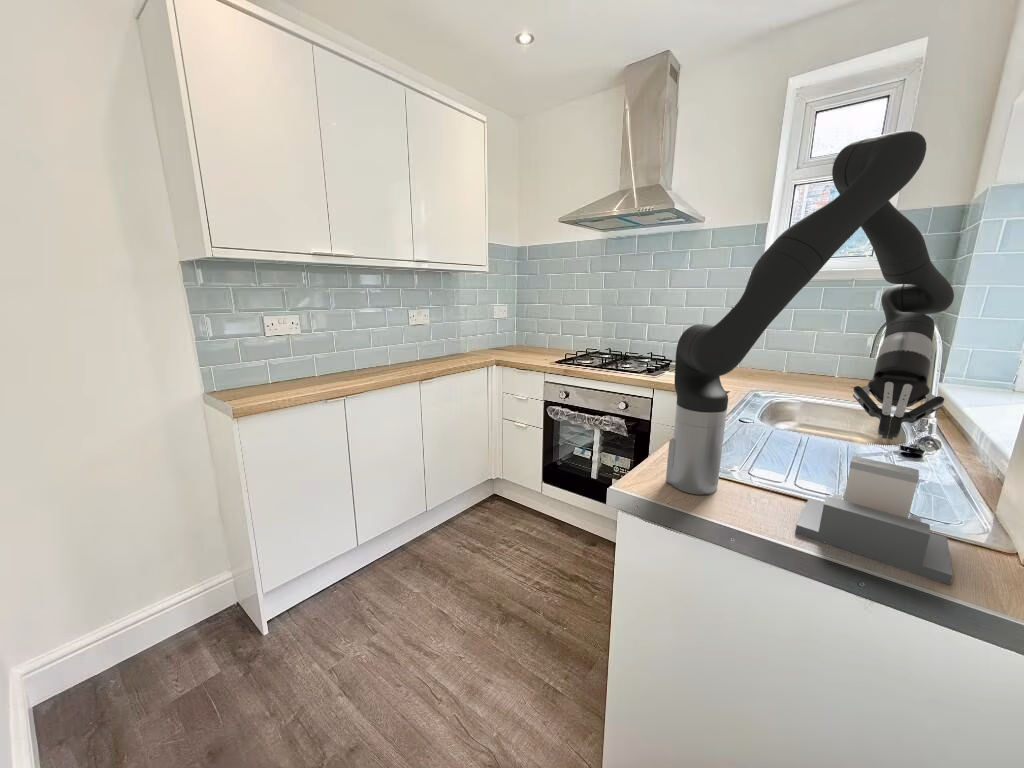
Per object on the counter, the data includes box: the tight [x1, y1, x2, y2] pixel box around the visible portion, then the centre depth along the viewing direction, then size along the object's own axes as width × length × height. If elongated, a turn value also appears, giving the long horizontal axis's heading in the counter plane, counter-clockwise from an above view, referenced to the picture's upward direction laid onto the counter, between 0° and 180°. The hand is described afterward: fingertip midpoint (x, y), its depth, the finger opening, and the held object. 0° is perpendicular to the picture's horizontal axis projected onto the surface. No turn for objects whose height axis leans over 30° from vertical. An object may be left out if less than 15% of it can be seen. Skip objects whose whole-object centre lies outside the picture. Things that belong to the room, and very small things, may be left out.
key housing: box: [794, 493, 954, 586], centre depth 66 cm, size 18×12×6 cm, turn 46°
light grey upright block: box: [842, 455, 920, 518], centre depth 67 cm, size 8×3×10 cm, turn 46°
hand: (887, 437), depth 73 cm, fingers closed
